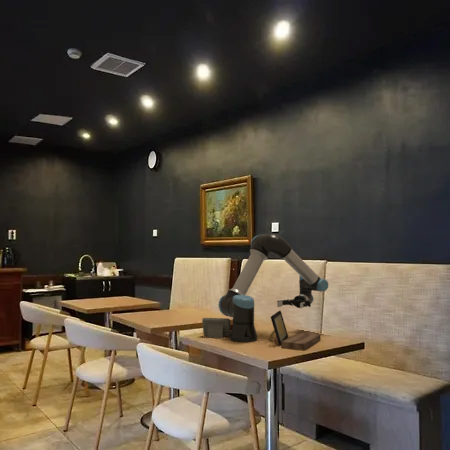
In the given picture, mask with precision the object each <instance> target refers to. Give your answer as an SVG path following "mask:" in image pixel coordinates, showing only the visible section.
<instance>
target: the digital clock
mask: <svg viewBox="0 0 450 450" xmlns="http://www.w3.org/2000/svg"><path fill="white" fill-rule="evenodd" d="M201 322H202V333H203V334H202V335H203V336H206V337H207V338H208V339H223V338H225V337H228V338H229V337H230V333H231V329H232V326H231V325H232V324H231V319H230V318H227V317H226V318H224V317H222V318H221V317H203V318H202V321H201Z"/></svg>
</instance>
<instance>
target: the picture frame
mask: <svg viewBox="0 0 450 450" xmlns="http://www.w3.org/2000/svg"><path fill="white" fill-rule="evenodd" d="M270 320H271V324H272V327H273V330H272V332H271V334H270V336H269V339H268V341H269V340H270V342H272V341H273V338H274V337H276V341H277V345H278V346H279V347H281V342H282V341H284V340H286V339H288V338H289V334H288V331H287V330H288V329H287V327H286V325H285V321H284V317H283V314H282V310H278V311H276V312H275V313H274V314H272V315H271V316H270Z"/></svg>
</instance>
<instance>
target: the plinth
mask: <svg viewBox="0 0 450 450" xmlns="http://www.w3.org/2000/svg"><path fill="white" fill-rule="evenodd" d="M320 341H321V334H319V333H307V332H306V333H305V332H298V333H296V334H293V335H291V336H290V337H289V336H288V338H287V339H286V340H284V341H282V342H281V346H280V347H281V349H289V350H290V349H291V350H298V351H306V350H307V349H309V348H311V347H312V346H314V345H315V344H316V343H319V342H320Z"/></svg>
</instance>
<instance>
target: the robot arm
mask: <svg viewBox="0 0 450 450" xmlns="http://www.w3.org/2000/svg"><path fill="white" fill-rule="evenodd" d="M292 247H293V246H291V244H289V243H288V242H287V241H286V240H285V239H284V238H283V237H281V235H278V234H276V233H267V234H262V233H261V234H258V235H255V236H253V238H252V239H251V241H250V249H249V252H250V253H249V254H250V255H249V257H248V258H247V261H246V262H245V264H244V266H243V268H242V270H241V272H240V273H239V275H238V278H237V279H236V281H235V283H234V284H233V287H232V288H230V289H228V290H227V292H226V294H224V295H222V296H221V297H220V298H219V300H218V304H217V305H218V309H219V313H221V314H223V315H224V316H226V317H229V318H232V326H231V333H230V336H229V340H230V341H232V342H238V343H249V342H251V343H252V342H256V341H257V340H258V333H257V330H256V327H255V299H254V297H252V296H251V295H247V293H248V291H249V289H250V287H251V286H252V284H253V281H254V280H255V278H256V276H257V274H258V272H259V270H260V268H261V266H262V265H263V263H264V261H267V260H268V259H269V257H270V255H271V254H273V255H275V256H276V257H278V258H279V259H280V260H281V259H282V260H284V261H285V262H286V263H287V264H288V265H289V266H290V268H292V269H293V270H294V271H295V272H296V273H297V274H298V276H299V280H298V282H299V283H298V284H299V285H298V286H299V295H296V296H294V298H292V299H284V300H283V299H282V300H277V301H276V305H277V308H280V307H283V306H294V307H296V308H297V309H303V308H305V307H306V308H308V307H309V308H311V307H312V305H311V304H312V303H313V302H314V296H313V293H312V291H315V292H326V291H327V290H328V288H329V282H328V280H327V279H324V278H321V277H320V276H319V275H318V274H317V273H316V272H315V271H314V270H313V269H312V268H311V267H310V266H309V265H308V264H307V263H306V262H305V261H304V260H303V259H302V258H301V257H300V256H299V255H298V254H297V253H296V251H294V250H293V248H292Z"/></svg>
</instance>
